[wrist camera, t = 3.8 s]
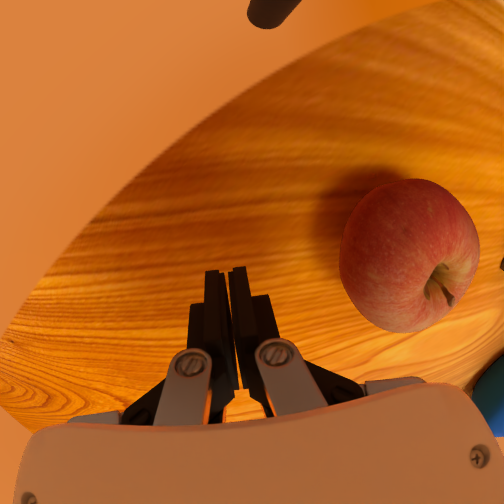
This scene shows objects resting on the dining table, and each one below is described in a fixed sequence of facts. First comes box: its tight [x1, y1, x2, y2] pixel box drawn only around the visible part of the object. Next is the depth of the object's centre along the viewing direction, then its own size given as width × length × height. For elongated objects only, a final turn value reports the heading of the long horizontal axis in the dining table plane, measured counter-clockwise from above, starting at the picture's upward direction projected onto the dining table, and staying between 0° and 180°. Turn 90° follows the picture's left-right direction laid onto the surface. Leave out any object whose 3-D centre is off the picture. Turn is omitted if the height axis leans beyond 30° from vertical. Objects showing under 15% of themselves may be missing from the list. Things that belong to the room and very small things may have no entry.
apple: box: [339, 179, 480, 333], centre depth 13 cm, size 8×8×8 cm
